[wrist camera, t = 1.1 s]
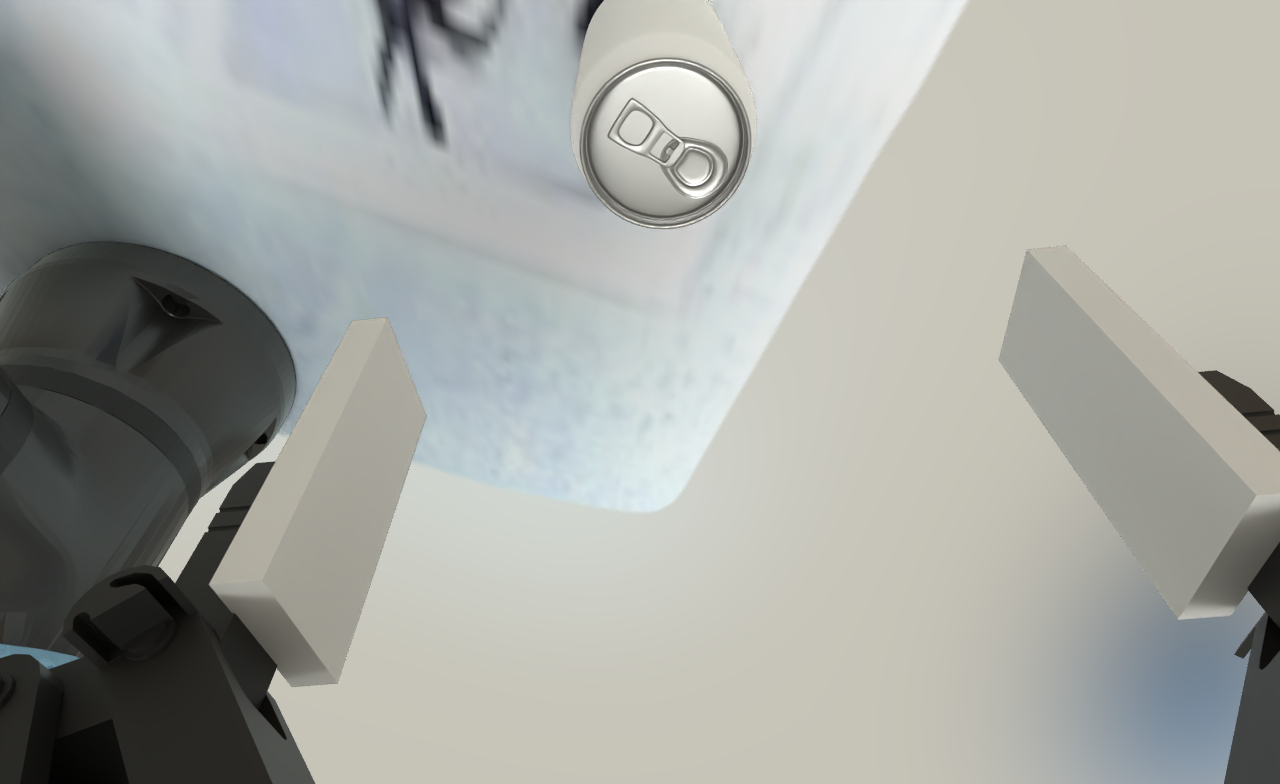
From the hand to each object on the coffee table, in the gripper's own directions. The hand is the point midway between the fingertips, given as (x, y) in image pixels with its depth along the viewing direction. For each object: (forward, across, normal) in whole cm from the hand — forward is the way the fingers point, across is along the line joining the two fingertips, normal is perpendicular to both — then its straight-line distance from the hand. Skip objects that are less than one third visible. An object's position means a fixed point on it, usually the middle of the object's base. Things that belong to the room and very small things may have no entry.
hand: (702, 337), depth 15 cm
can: (+23, 0, 0) cm, 23 cm away
